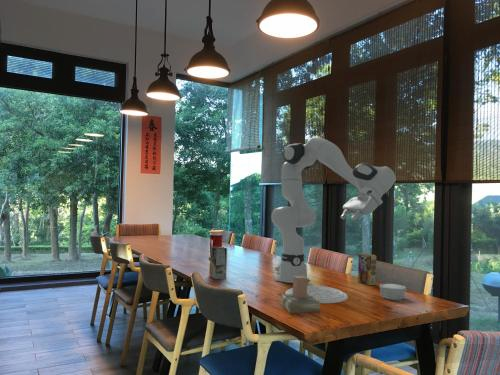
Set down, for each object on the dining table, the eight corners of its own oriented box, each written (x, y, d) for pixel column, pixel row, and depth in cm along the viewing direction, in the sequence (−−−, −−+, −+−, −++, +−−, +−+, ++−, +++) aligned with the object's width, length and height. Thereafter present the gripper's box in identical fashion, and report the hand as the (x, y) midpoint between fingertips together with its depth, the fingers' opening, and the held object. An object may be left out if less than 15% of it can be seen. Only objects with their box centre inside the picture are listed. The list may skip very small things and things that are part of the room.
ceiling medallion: (300, 306, 163) (300, 298, 163) (276, 289, 190) (276, 283, 190) (360, 302, 171) (360, 295, 171) (329, 287, 198) (329, 281, 198)
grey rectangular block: (292, 295, 160) (293, 275, 160) (302, 295, 161) (303, 275, 161) (296, 298, 156) (296, 278, 156) (306, 298, 157) (307, 277, 157)
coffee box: (226, 278, 210) (227, 248, 210) (215, 279, 207) (216, 248, 207) (219, 275, 218) (220, 246, 218) (209, 276, 215) (209, 246, 215)
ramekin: (377, 294, 185) (377, 282, 185) (401, 295, 184) (402, 283, 184) (382, 300, 174) (382, 288, 174) (408, 301, 173) (409, 289, 173)
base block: (280, 304, 163) (280, 293, 163) (308, 303, 166) (308, 292, 166) (290, 312, 151) (290, 301, 151) (319, 311, 154) (319, 300, 154)
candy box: (376, 284, 204) (376, 255, 204) (370, 285, 202) (370, 255, 202) (363, 281, 212) (364, 252, 212) (357, 282, 210) (358, 253, 210)
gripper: (352, 191, 183) (332, 212, 181) (375, 191, 163) (353, 214, 161) (360, 201, 184) (340, 222, 182) (385, 202, 164) (363, 225, 162)
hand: (347, 218), depth 171 cm, fingers open, 8 cm apart
